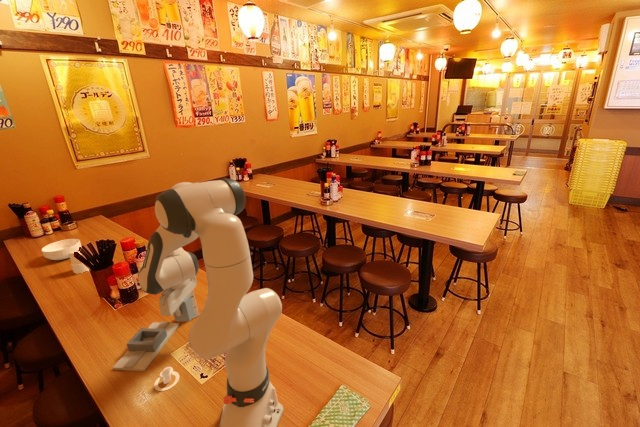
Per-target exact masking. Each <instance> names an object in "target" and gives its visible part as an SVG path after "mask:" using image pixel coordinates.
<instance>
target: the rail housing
mask: <svg viewBox="0 0 640 427" xmlns="http://www.w3.org/2000/svg"><path fill="white" fill-rule="evenodd" d="M179 326H180V322H170V321H161V322H157V321H155V322H152V323H150V324H149V326H148V327H147V328H145V327H144V328H143V327H141V328H140V329H139V330H138V331H137V332H136V333H135V334H134V335H133V336H132V337H131V339H130V340H128V342H127V343H126V346H127V351H126V352H125V353H124V354H123V355H122V356H121V357H120V359H119V360H118V361H117V362H116V363H115V364H114V365H113V366H112V370H114V371H115V370H116V371H134V372H145V371H146V369H148V367H149V366H150V364H151V363H152V362H153V360H154V359H155V358H156V357H157V355H158V354H159V353H160V351H161V350H162V348H163V347H164V346H165V344H166V343H167V342H168V340H169V339H170V338H171V337H172V336H173V334H174V333H175V331H176V330H177V329H178V327H179Z"/></svg>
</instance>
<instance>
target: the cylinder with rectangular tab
mask: <svg viewBox="0 0 640 427" xmlns="http://www.w3.org/2000/svg"><path fill="white" fill-rule="evenodd" d="M80 251H81V250H80ZM80 251H71V252H69V253H68V254H69V259H70V266H71V267H70V268H71V270H72V272H73V274H74V273H76V274H75V275H79V274H78V273H82V274H84V273H83V272H85V271H88V272H90V271H89V269H88V268H87V267H86V266H85V265H84V264H83V263H81V262H80V261H79V260H77V259H76V258H75V257H74V255H73V254H74V252H78V253H79V254H80V255H82V254H81V253H80Z"/></svg>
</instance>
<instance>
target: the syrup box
mask: <svg viewBox="0 0 640 427" xmlns="http://www.w3.org/2000/svg"><path fill="white" fill-rule="evenodd" d="M190 296H191V300H192V305H193V309H194V313H195V315H194V317H193V318H192V319H195V318H198V317H199V315H200V313H199V308H198V304H197V301H196V297H195V293H194V290H193V291H192V292H191V293H190ZM192 319H191V320H192Z"/></svg>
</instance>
